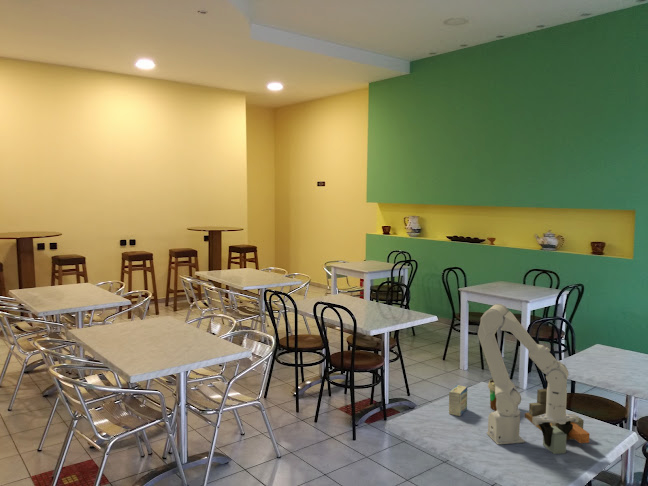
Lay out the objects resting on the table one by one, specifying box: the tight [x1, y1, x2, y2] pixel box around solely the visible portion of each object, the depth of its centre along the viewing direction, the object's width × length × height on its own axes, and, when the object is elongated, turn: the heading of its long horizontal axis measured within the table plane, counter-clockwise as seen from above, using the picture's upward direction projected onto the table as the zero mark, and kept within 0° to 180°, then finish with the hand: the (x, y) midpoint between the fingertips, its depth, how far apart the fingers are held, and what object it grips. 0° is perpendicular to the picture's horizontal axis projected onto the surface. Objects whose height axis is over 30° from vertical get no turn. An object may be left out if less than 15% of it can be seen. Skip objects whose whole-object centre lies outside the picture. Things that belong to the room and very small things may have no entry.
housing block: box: [542, 426, 567, 455], centre depth 163 cm, size 4×6×6 cm, turn 8°
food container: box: [487, 377, 497, 412], centre depth 195 cm, size 12×6×10 cm, turn 145°
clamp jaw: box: [552, 417, 590, 444], centre depth 167 cm, size 10×10×4 cm
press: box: [524, 388, 575, 441], centre depth 178 cm, size 12×18×10 cm, turn 8°
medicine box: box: [448, 384, 468, 417], centre depth 191 cm, size 8×4×9 cm, turn 147°
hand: (554, 444), depth 163 cm, fingers closed on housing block, 4 cm apart
